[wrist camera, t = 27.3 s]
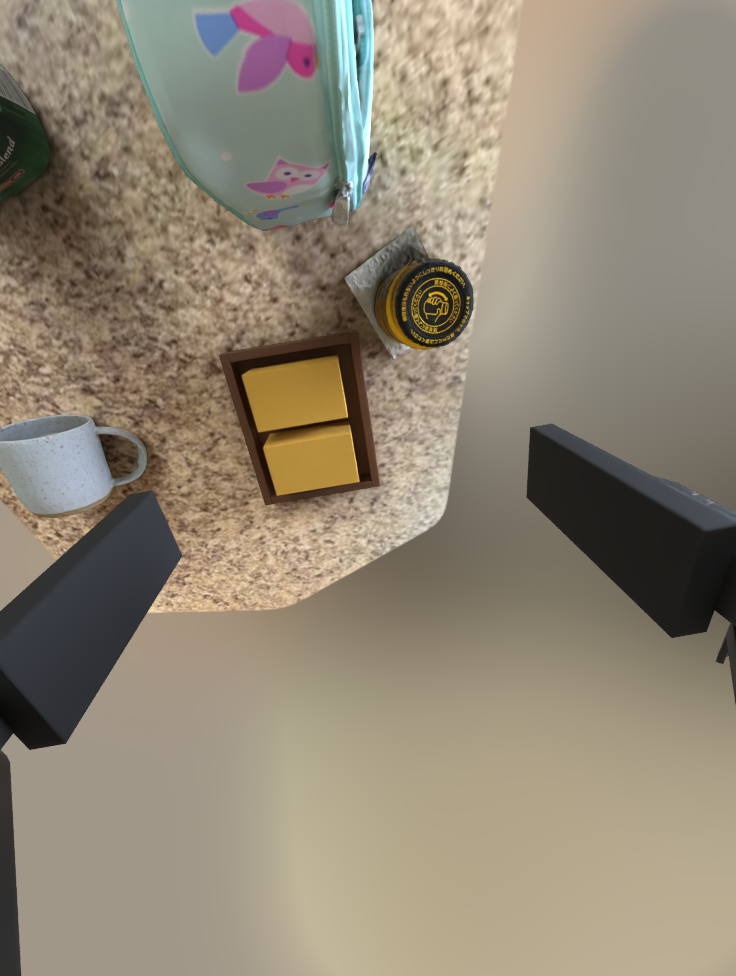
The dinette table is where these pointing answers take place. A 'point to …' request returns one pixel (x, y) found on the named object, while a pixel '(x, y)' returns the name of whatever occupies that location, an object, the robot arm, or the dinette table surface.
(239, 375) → the frame
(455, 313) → the condiment
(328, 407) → the pad loose
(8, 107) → the coffee jar
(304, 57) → the lunch box
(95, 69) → the dinette table surface
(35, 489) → the ceramic mug
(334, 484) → the pad seated
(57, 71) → the dinette table surface
